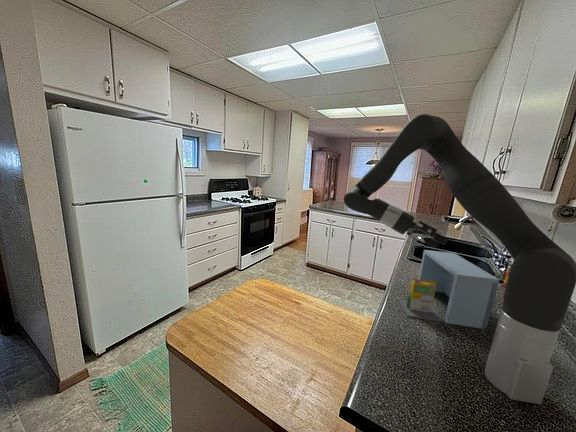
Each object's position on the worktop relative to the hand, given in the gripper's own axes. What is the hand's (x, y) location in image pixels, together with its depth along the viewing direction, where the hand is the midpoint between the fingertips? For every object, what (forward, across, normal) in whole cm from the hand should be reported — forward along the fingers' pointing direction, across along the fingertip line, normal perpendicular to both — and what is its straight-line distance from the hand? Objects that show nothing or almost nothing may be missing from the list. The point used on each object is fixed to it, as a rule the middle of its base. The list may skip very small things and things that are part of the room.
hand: (442, 244), depth 80 cm
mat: (+6, +9, +23) cm, 25 cm away
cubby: (+15, +17, +15) cm, 27 cm away
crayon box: (+6, +8, +22) cm, 25 cm away
